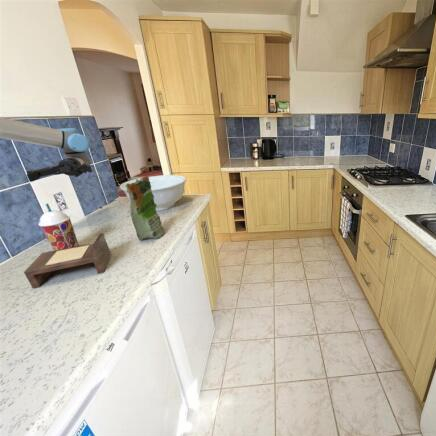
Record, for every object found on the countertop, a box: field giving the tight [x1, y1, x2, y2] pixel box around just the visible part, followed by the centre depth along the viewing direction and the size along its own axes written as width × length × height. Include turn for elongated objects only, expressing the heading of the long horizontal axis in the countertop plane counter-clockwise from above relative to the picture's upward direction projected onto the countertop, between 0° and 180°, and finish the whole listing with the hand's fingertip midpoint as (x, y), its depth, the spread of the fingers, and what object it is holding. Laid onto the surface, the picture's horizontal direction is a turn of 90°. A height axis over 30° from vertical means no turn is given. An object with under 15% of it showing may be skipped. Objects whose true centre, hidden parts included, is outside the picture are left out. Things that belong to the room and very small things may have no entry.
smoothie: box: [37, 203, 80, 251], centre depth 88 cm, size 8×8×20 cm
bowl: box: [119, 174, 187, 212], centre depth 135 cm, size 32×32×15 cm
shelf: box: [23, 233, 112, 289], centre depth 80 cm, size 18×12×9 cm, turn 115°
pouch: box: [126, 176, 165, 241], centre depth 98 cm, size 11×12×25 cm
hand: (52, 175), depth 92 cm, fingers open, 13 cm apart
